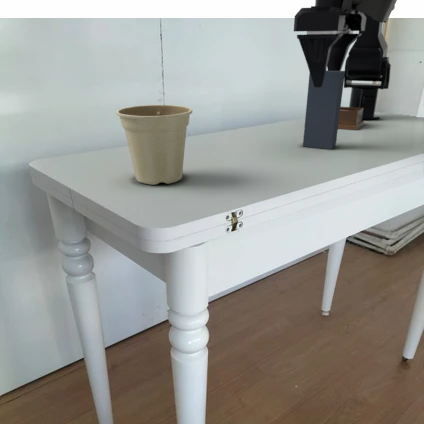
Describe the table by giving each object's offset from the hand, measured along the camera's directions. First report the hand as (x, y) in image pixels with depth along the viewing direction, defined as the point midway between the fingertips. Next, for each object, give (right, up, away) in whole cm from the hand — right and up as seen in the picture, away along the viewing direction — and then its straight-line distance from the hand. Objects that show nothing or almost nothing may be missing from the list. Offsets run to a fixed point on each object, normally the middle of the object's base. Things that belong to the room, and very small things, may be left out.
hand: (326, 84), depth 72 cm
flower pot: (-25, -18, -12) cm, 33 cm away
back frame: (+8, +2, +22) cm, 24 cm away
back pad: (0, -8, +5) cm, 10 cm away
